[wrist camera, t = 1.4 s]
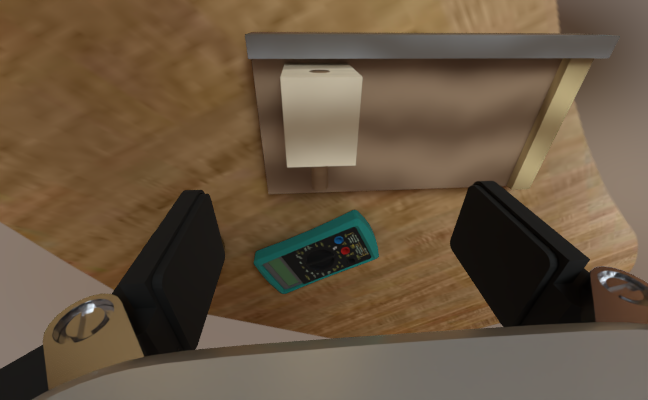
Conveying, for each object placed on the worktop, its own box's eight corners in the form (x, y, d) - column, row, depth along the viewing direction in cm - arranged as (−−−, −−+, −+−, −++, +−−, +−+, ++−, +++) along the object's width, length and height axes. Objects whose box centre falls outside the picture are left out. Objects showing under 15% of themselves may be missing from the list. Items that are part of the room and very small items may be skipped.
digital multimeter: (379, 244, 36) (385, 260, 34) (282, 282, 39) (280, 299, 37) (359, 203, 32) (364, 218, 30) (253, 249, 35) (249, 266, 33)
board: (252, 32, 22) (244, 34, 19) (580, 33, 24) (620, 35, 21) (270, 184, 29) (267, 202, 27) (516, 176, 31) (538, 192, 28)
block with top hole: (284, 63, 21) (280, 77, 16) (347, 63, 22) (362, 77, 17) (291, 167, 26) (289, 201, 21) (342, 165, 27) (352, 199, 22)
